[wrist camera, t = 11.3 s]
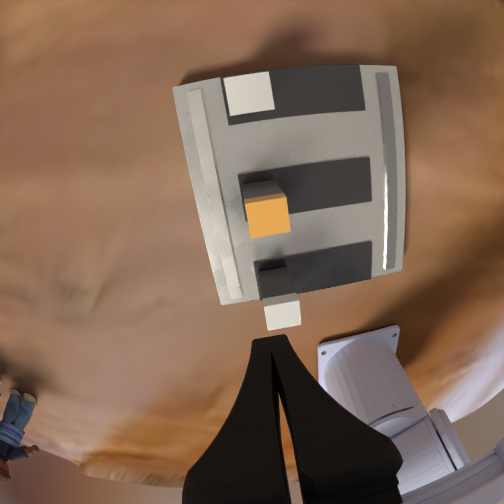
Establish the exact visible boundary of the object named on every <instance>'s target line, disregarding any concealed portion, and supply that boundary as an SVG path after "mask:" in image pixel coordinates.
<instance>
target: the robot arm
mask: <svg viewBox="0 0 504 504" xmlns="http://www.w3.org/2000/svg"><path fill="white" fill-rule="evenodd" d="M399 333H400V328H399V326H398V325H393V326H390V327H386V328H382V329H378V330H375V331H371V332H367V333H363V334H359V335H355V336H350V337H346V338H342V339H338V340H333V341H329V342H324V343H321V344H319V345H318V382H317V381H316V380H315V379H314V377H313V376H312V375H311V374H310V372H309V371H308V370H307V369H306V367H305V366H304V364H303V363H302V362H301V360H300V359H299V357H298V356H297V354H296V353H295V351H294V350H293V348H292V346H291V344H290V342H289V340H288V338H287V336H286V335H285V334H282V335H276V336H271V337H265V338H259V339H254V340H253V341H252V347H251V354H250V359H249V363H248V367H247V370H246V374H245V377H244V380H243V383H242V386H241V389H240V391H239V394H238V396H237V399H236V401H235V403H234V405H233V408H232V410H231V412H230V414H229V416H228V417H227V419H226V421H225V423H224V424H223V426H222V428H221V430H220V431H219V433H218V434H217V436H216V437H215V439H214V440H213V441H212V443H211V444H210V446H209V447H208V448H207V450H206V451H205V452H204V454H203V455H202V456H201V457H200V458H199V460H198V461H197V462H196V463H195V464H194V465H193V466H192V467H191V469H190V470H189V471H188V472H187V475H186V479H185V482H184V486H183V492H182V504H291V498H290V492H289V486H288V479H287V473H286V467H285V461H284V455H283V448H282V441H281V428H280V411H279V395H280V399H281V402H282V406H283V409H284V413H285V417H286V420H287V424H288V427H289V431H290V434H291V439H292V443H293V449H294V454H295V460H296V466H297V472H298V477H299V483H300V489H301V495H302V500H303V504H497V503H499V502H500V501H502V500H503V499H504V438H503V439H502V440H501V441H500V442H499V443H498V444H497V445H496V447H495V448H494V449H493V450H491V451H490V452H488V453H486V454H485V455H483V456H481V457H480V458H478V459H476V460H474V461H473V462H471V463H470V459H469V457H468V455H467V453H466V451H465V449H464V447H463V445H462V443H461V441H460V439H459V437H458V435H457V433H456V431H455V430H454V428H453V426H452V424H451V422H450V420H449V418H448V417H447V415H446V413H445V411H444V410H441V409H438V410H437V408H433V409H432V410H430V411H429V413H430V415H431V416H430V415H429V413H428V412H427V410H426V409H425V407H424V406H423V404H422V402H421V401H420V399H419V397H418V395H417V393H416V391H415V389H414V388H413V386H412V384H411V382H410V380H409V378H408V377H407V375H406V373H405V371H404V369H403V368H402V366H401V364H400V362H399V361H398V359H397V357H396V355H395V354H396V349H397V344H398V338H399ZM393 334H394V335H393ZM323 351H325V352H323ZM278 392H279V395H278ZM431 417H432V418H431Z"/></svg>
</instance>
